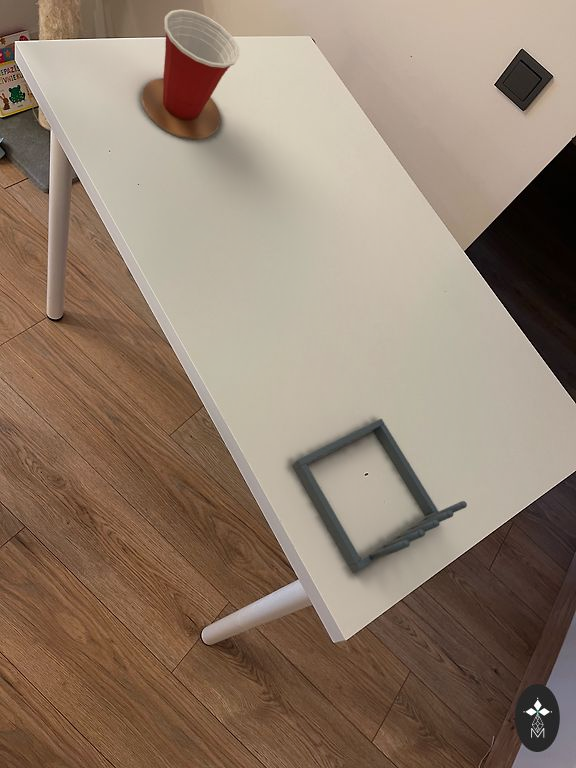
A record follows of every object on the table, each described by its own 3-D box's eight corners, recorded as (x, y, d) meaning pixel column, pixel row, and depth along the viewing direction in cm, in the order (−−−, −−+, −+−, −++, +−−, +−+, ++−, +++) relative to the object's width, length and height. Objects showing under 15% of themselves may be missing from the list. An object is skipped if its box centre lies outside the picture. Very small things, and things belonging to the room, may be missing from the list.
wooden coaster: (166, 144, 86) (167, 141, 86) (127, 84, 89) (127, 80, 88) (233, 134, 93) (234, 131, 93) (195, 78, 95) (196, 75, 95)
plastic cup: (230, 126, 93) (256, 58, 83) (172, 139, 87) (194, 67, 77) (191, 76, 94) (212, 4, 85) (132, 85, 88) (148, 8, 78)
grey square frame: (291, 464, 71) (325, 436, 64) (374, 423, 79) (413, 394, 71) (352, 572, 68) (395, 556, 60) (432, 518, 76) (479, 498, 68)
